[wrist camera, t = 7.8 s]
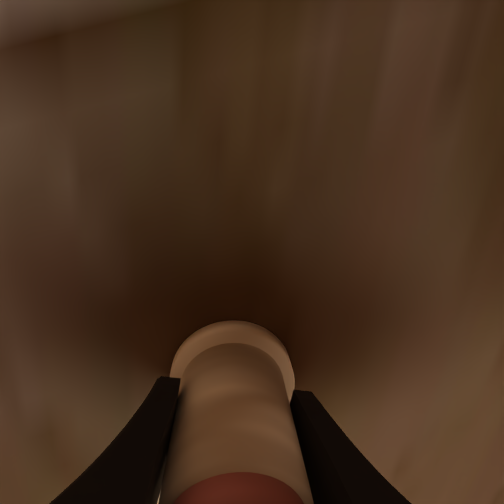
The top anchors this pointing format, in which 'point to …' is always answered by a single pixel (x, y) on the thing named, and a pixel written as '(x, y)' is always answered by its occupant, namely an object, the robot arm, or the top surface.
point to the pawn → (234, 421)
